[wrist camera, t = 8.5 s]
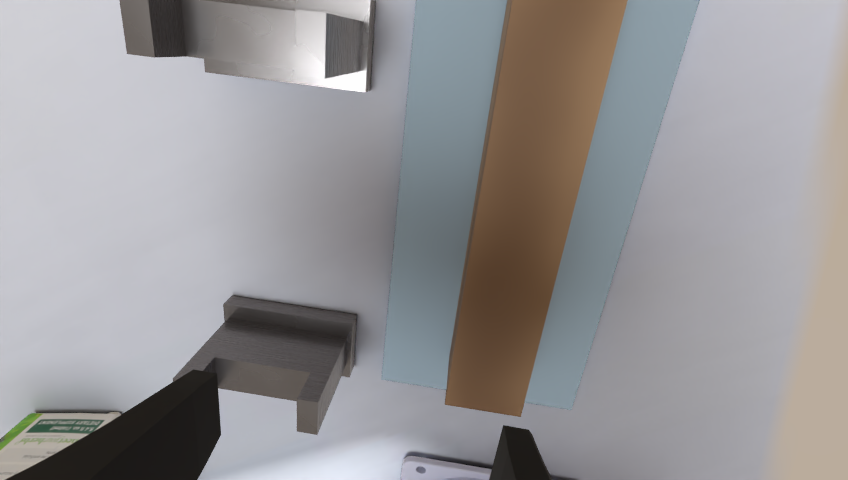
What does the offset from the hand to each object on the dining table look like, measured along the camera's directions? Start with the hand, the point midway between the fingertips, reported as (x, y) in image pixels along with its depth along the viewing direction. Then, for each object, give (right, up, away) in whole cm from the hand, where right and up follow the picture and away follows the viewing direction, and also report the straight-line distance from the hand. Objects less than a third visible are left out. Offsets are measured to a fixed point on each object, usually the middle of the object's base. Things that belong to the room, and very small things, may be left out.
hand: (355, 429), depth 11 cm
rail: (+5, +6, +6) cm, 10 cm away
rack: (-4, +6, +8) cm, 11 cm away
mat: (+5, +7, +7) cm, 11 cm away
